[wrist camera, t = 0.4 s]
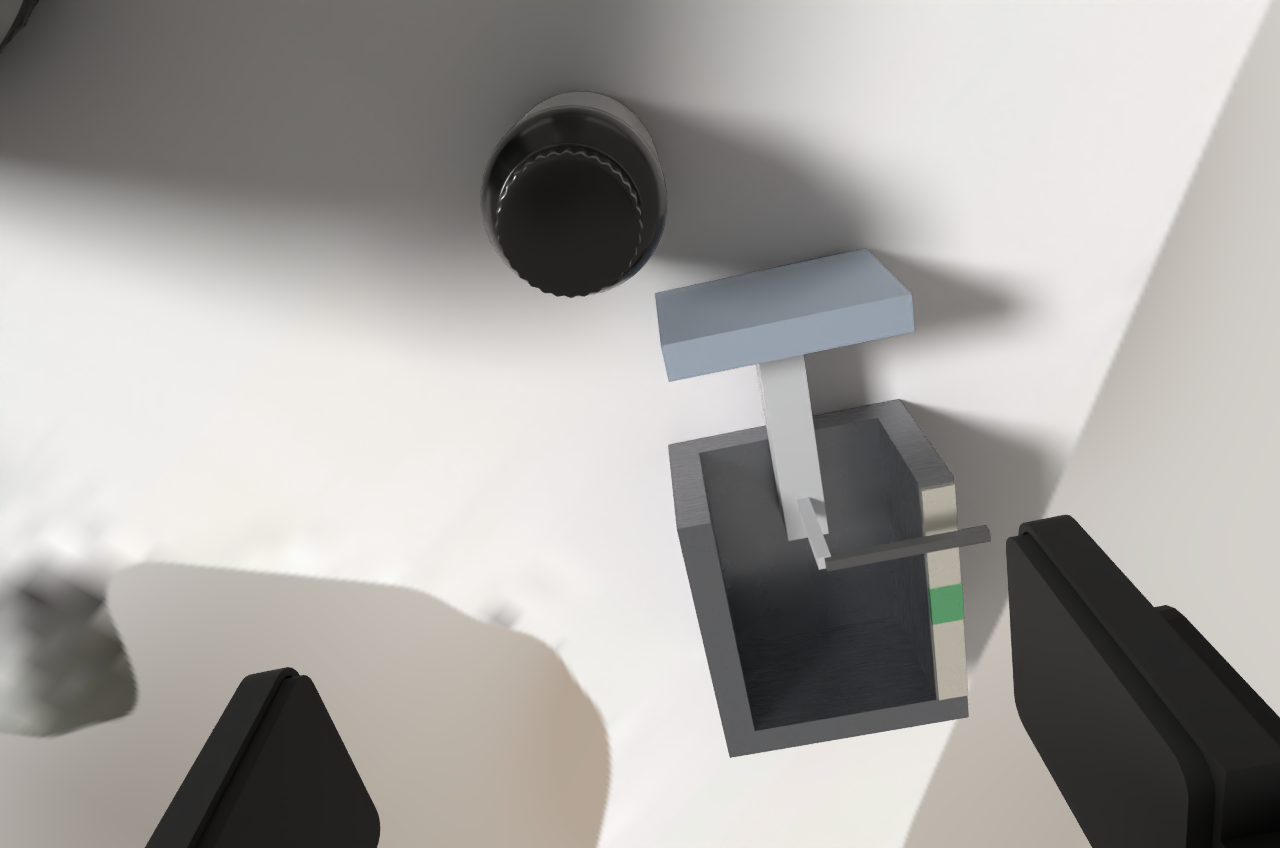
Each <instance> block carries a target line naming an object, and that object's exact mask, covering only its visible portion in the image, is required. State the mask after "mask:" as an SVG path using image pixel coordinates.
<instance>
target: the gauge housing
mask: <svg viewBox="0 0 1280 848" xmlns="http://www.w3.org/2000/svg"><path fill="white" fill-rule="evenodd" d="M812 418H813V425H814V432H815V439H816V447H817V454H818V461H819V468H820V475H821V482H822V489H823V496H824V503H825V511H826V518H827V525H828V532H829V534H824V535H823V536H824V538H825V541H826V544H827V546H828V549H829V552H830V554H834V553H839V552H844V551H850V550H855V549H860V548H866V547H871V546H876V545H882V544H887V543H893V542H898V541H903V540H909V539H914V538H919V537H925V536H930V535H935V534H941V533H946V532H952V531H957V530H958V525H957V509H956V493H955V484H954V478H953V475H952V474H951V472H950V471H949V469H948V468H947V466H946V465H945V464H944V462H943V461H942V459H941V458H940V456H939V455H938V454H937V452H936V451H935V449H934V448H933V446H932V445H931V444H930V442H929V441H928V439H927V438H926V436H925V435H924V434H923V432H922V431H921V429H920V428H919V426H918V425H917V424H916V422H915V421H914V419H913V418H912V417H911V415H910V414H909V412H908V411H907V409H906V408H905V407H904V405H903V404H902V402H901V401H900V399H897V400H892V401H887V402H882V403H877V404H872V405H867V406H862V407H857V408H852V409H847V410H842V411H837V412H832V413H827V414H822V415H817V416H812ZM668 448H669V458H670V468H671V477H672V487H673V496H674V506H675V515H676V525H677V532H678V536H679V540H680V544H681V549H682V553H683V557H684V562H685V566H686V570H687V575H688V579H689V583H690V588H691V592H692V596H693V601H694V605H695V609H696V614H697V618H698V622H699V626H700V631H701V635H702V639H703V644H704V648H705V652H706V657H707V661H708V665H709V670H710V674H711V678H712V683H713V687H714V691H715V696H716V700H717V704H718V708H719V713H720V717H721V721H722V726H723V730H724V734H725V739H726V743H727V747H728V752H729V756H730V758H731V757H737V756H743V755H749V754H755V753H761V752H766V751H772V750H778V749H784V748H790V747H796V746H802V745H808V744H813V743H819V742H825V741H831V740H837V739H843V738H849V737H855V736H860V735H866V734H872V733H878V732H884V731H890V730H896V729H902V728H907V727H913V726H919V725H925V724H931V723H937V722H943V721H949V720H954V719H960V718H966V717H968V716H969V715H968V699H967V695H968V685H967V669H966V653H965V637H964V621H963V619H964V607H963V591H962V584H961V573H960V557H959V547H957V548H951V549H946V550H940V551H935V552H930V553H924V554H919V555H913V556H908V557H903V558H897V559H892V560H886V561H881V562H876V563H870V564H865V565H859V566H854V567H849V568H843V569H838V570H832V571H827V570H826V568H825V569H819V568H818V565H817V563H816V560H815V557H814V554H813V551H812V548H811V545H810V542H809V540H808V538H803V539H797V540H792V541H788V537H787V534H786V531H785V528H784V525H783V521H782V517H781V511H780V505H779V499H778V493H777V487H776V481H775V475H774V469H773V463H772V457H771V451H770V445H769V439H768V433H767V427H766V426H761V427H756V428H751V429H746V430H741V431H736V432H731V433H726V434H721V435H716V436H711V437H706V438H701V439H696V440H691V441H686V442H681V443H676V444H671V445H668Z"/></svg>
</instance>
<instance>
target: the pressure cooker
mask: <svg viewBox="0 0 1280 848" xmlns="http://www.w3.org/2000/svg"><path fill="white" fill-rule="evenodd" d="M38 2H39V0H0V53H1V52H2V51H3V49H4V48H5V47H6V45H7V44H8V43H9V42H10V41H11V39H12V38H13V37H14V36H15V34H16V33H17V32H18V31H19V30H21V29H22V28H23V27H24V26H25V25H26V22H27V20H28V18H29V16H30V14H31V12H32V10H33V8H34V6H35V5H36V4H37V3H38Z"/></svg>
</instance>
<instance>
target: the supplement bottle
mask: <svg viewBox="0 0 1280 848" xmlns="http://www.w3.org/2000/svg"><path fill="white" fill-rule="evenodd" d="M481 211H482V218H483V222H484V226H485V229H486V232H487V235H488V237H489V239H490V242H491V243H492V245H493V247H494V249H495V251H496V252H497V253H498V255H499V256H500V258H501V259H502V260H503V261H504V263H505V264H506V265H507V266H508V267H509V268H510V269H511V270H512V271H513V272H514V273H515V274H517V275H518V276H519V277H520V278H522V279H523V280H525V281H526V282H528V283H529V284H530V285H531V286H532V287H536V288H539V289H540V290H541V291H542V292H544V293H552V294H553V295H555V296H557V297H558V296H564V295H565V296H567V297H570V298H572V297H575V296H586V295H593V294H597V293H602V292H605V291H607V290H610V289H612V288H615V287H617V286H619V285H620V284H622V283H624V282H625V281H627V280H628V279H630V278H631V277H632V276H634V275H635V274H636V273H637V272H638V271H639V270H640V269H641V268H642V267H643V266H644V265H645V264H646V263H647V261H648V260H649V259H650V257H651V256H652V254H653V252H654V251H655V249H656V247H657V245H658V243H659V241H660V238H661V236H662V233H663V229H664V225H665V220H666V213H667V192H666V185H665V180H664V176H663V172H662V169H661V166H660V162H659V159H658V155H657V152H656V149H655V146H654V143H653V141H652V139H651V137H650V135H649V133H648V131H647V129H646V128H645V126H644V125H643V123H642V122H641V121H640V120H639V119H638V117H637V116H636V115H635V114H634V113H633V112H632V111H631V110H629V109H628V108H627V107H626V106H624V105H623V104H621V103H620V102H618V101H616V100H614V99H612V98H610V97H607V96H605V95H602V94H598V93H593V92H585V91H574V92H567V93H562V94H558V95H555V96H553V97H550V98H548V99H546V100H544V101H542V102H541V103H539V104H538V105H536V106H535V107H533V108H532V109H531V110H530V111H529V112H527V113H526V114H525V115H524V116H523V117H522V118H521V119H520V120H519V121H518V122H517V123H516V124H515V125H514V126H513V127H512V128H511V129H510V130H509V131H508V132H507V133H506V134H505V136H504V137H503V138H502V139H501V141H500V142H499V143H498V145H497V146H496V148H495V149H494V151H493V153H492V155H491V157H490V159H489V161H488V164H487V166H486V169H485V173H484V176H483V181H482V186H481Z"/></svg>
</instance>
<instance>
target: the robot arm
mask: <svg viewBox="0 0 1280 848" xmlns="http://www.w3.org/2000/svg"><path fill="white" fill-rule="evenodd" d="M1006 555H1007V573H1008V591H1009V608H1010V627H1011V645H1012V661H1013V662H1012V663H1013V680H1014V696H1015V703H1016V707H1017V710H1018V714H1019V716H1020V719H1021V721H1022V723H1023V726H1024V728H1025V729H1026V731H1027V733H1028V735H1029V737H1030V738H1031V740H1032V742H1033V744H1034V745H1035V747H1036V749H1037V751H1038V752H1039V754H1040V756H1041V758H1042V760H1043V761H1044V763H1045V765H1046V767H1047V768H1048V770H1049V772H1050V774H1051V775H1052V777H1053V779H1054V781H1055V782H1056V784H1057V786H1058V788H1059V790H1060V791H1061V793H1062V795H1063V797H1064V798H1065V800H1066V802H1067V804H1068V805H1069V807H1070V809H1071V811H1072V813H1073V814H1074V816H1075V818H1076V819H1077V821H1078V823H1079V825H1080V827H1081V828H1082V830H1083V832H1084V834H1085V836H1086V837H1087V839H1088V841H1089V843H1090V844H1091V846H1092V848H1280V717H1279V716H1278V715H1277V714H1276V713H1275V712H1274V711H1273V710H1272V709H1271V708H1270V707H1269V706H1268V705H1267V704H1266V703H1265V702H1264V700H1263V699H1262V698H1261V697H1260V696H1259V695H1258V694H1257V693H1256V692H1255V691H1254V690H1253V689H1252V688H1251V687H1250V685H1249V684H1248V683H1247V682H1246V681H1245V680H1244V679H1243V678H1242V677H1241V676H1240V675H1239V674H1238V673H1237V672H1236V671H1235V670H1234V668H1233V667H1232V666H1231V665H1230V664H1229V663H1228V662H1227V661H1226V660H1225V659H1224V658H1223V657H1222V656H1221V655H1220V654H1219V653H1218V651H1217V650H1216V649H1215V648H1214V647H1213V646H1212V645H1211V644H1210V643H1209V642H1208V641H1207V640H1206V639H1205V638H1204V637H1203V635H1202V634H1200V632H1199V631H1198V630H1197V629H1196V628H1195V627H1194V626H1193V625H1192V624H1191V623H1190V622H1189V621H1188V620H1187V618H1186V617H1185V616H1183V615H1182V614H1181V613H1180V612H1179V611H1177V610H1176V609H1175V608H1173V607H1170V606H1167V605H1164V606H1159V607H1153V606H1152V604H1151V603H1150V602H1149V601H1148V600H1147V599H1146V598H1145V597H1144V596H1143V595H1142V594H1141V592H1140V591H1139V590H1138V589H1137V588H1136V587H1135V586H1134V585H1133V583H1132V582H1131V581H1130V580H1129V579H1128V578H1127V577H1126V576H1125V575H1124V574H1123V572H1122V571H1121V570H1120V569H1119V568H1118V567H1117V566H1116V565H1115V563H1114V562H1113V561H1112V560H1111V559H1110V558H1109V557H1108V556H1107V555H1106V554H1105V552H1104V551H1103V550H1102V549H1101V548H1100V547H1099V546H1098V545H1097V544H1096V542H1095V541H1094V540H1093V539H1092V538H1091V537H1090V536H1089V535H1088V534H1087V532H1086V531H1085V530H1084V529H1083V528H1082V527H1081V526H1080V525H1079V524H1078V522H1077V521H1076V520H1075V519H1074V518H1072V517H1071V516H1070V515H1061V516H1057V517H1051V518H1046V519H1041V520H1036V521H1031V522H1026V523H1022V524H1021V525H1020V528H1019V536H1014V537H1009V538H1008V539H1007V542H1006ZM379 837H380V821H379V816H378V812H377V810H376V808H375V806H374V804H373V802H372V800H371V798H370V796H369V794H368V792H367V790H366V788H365V786H364V784H363V782H362V780H361V778H360V776H359V774H358V772H357V770H356V768H355V766H354V764H353V761H352V759H351V757H350V755H349V754H348V751H347V749H346V747H345V745H344V743H343V741H342V739H341V737H340V735H339V734H338V731H337V730H336V727H335V725H334V723H333V721H332V719H331V717H330V716H329V713H328V712H327V709H326V707H325V705H324V703H323V701H322V699H321V697H320V695H319V693H318V691H317V689H316V687H315V685H314V683H313V682H312V680H311V679H310V678H309V677H308V676H305V675H302V676H300V675H299V674H298V672H297V671H296V670H294V669H293V668H289V667H286V668H281V669H276V670H271V671H266V672H261V673H256V674H251V675H248V676H247V677H245V678H244V679H243V680H242V682H241V683H240V685H239V687H238V688H237V690H236V692H235V693H234V695H233V697H232V698H231V700H230V702H229V704H228V706H227V707H226V709H225V711H224V712H223V714H222V716H221V717H220V719H219V721H218V723H217V724H216V726H215V728H214V729H213V732H212V733H211V735H210V736H209V738H208V740H207V742H206V743H205V745H204V747H203V748H202V750H201V752H200V754H199V755H198V757H197V759H196V761H195V762H194V764H193V766H192V767H191V769H190V771H189V772H188V774H187V776H186V778H185V780H184V781H183V783H182V785H181V786H180V788H179V790H178V791H177V793H176V795H175V797H174V798H173V800H172V802H171V804H170V805H169V807H168V809H167V810H166V812H165V814H164V816H163V818H162V819H161V821H160V823H159V824H158V826H157V828H156V829H155V831H154V833H153V835H152V836H151V838H150V840H149V842H148V843H147V845H146V847H145V848H377V845H378V842H379Z"/></svg>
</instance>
